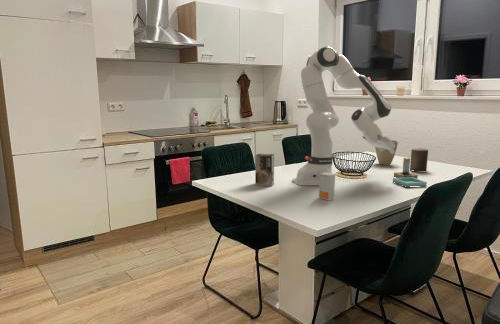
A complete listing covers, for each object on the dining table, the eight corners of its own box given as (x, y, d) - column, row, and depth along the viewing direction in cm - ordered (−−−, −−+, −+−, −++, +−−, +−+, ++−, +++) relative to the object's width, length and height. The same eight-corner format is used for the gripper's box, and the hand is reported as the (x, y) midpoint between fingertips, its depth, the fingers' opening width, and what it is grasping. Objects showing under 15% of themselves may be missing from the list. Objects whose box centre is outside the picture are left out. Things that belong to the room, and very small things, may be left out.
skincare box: (318, 198, 181) (319, 173, 178) (323, 196, 184) (324, 171, 181) (329, 200, 176) (330, 175, 174) (334, 199, 179) (335, 173, 177)
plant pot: (380, 161, 273) (382, 139, 270) (400, 164, 262) (402, 141, 259) (368, 164, 264) (370, 140, 261) (388, 167, 252) (390, 143, 250)
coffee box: (274, 183, 208) (274, 154, 205) (271, 186, 202) (272, 156, 199) (257, 182, 210) (258, 153, 207) (254, 185, 204) (255, 155, 201)
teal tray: (406, 187, 200) (406, 183, 200) (392, 182, 212) (393, 178, 211) (426, 186, 203) (426, 182, 202) (411, 181, 214) (412, 177, 214)
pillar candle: (427, 172, 237) (429, 148, 234) (410, 171, 240) (412, 147, 237) (425, 170, 246) (427, 146, 243) (409, 168, 249) (411, 145, 246)
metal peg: (404, 179, 218) (406, 159, 216) (400, 178, 221) (402, 157, 219) (409, 179, 219) (411, 158, 217) (406, 178, 222) (407, 157, 220)
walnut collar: (403, 181, 215) (403, 175, 214) (393, 177, 223) (394, 172, 223) (417, 180, 217) (417, 175, 216) (407, 176, 225) (407, 171, 225)
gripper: (388, 132, 201) (403, 150, 205) (367, 128, 220) (382, 144, 224) (380, 141, 200) (395, 158, 204) (360, 136, 220) (374, 152, 224)
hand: (388, 151), depth 215 cm, fingers open, 8 cm apart
